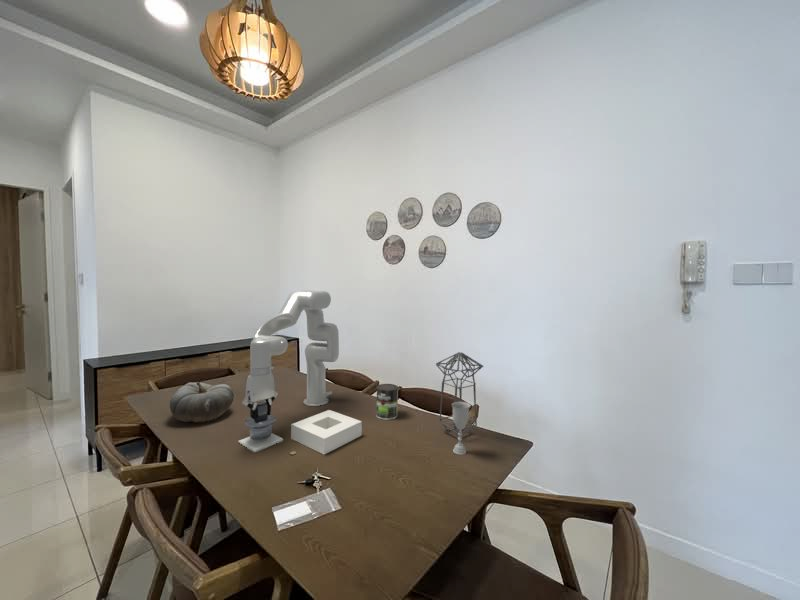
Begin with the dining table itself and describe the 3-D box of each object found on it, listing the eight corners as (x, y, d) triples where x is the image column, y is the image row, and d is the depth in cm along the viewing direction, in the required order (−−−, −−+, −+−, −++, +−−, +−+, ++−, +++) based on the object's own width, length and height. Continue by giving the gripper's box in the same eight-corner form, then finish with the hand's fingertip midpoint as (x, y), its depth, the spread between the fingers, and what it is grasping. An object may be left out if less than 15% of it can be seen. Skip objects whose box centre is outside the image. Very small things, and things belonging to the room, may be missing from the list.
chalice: (457, 457, 124) (458, 409, 123) (446, 449, 130) (447, 403, 129) (472, 453, 127) (474, 406, 126) (461, 445, 133) (463, 400, 132)
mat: (266, 432, 141) (266, 430, 141) (283, 440, 134) (283, 438, 134) (238, 442, 131) (238, 440, 131) (254, 452, 124) (254, 450, 124)
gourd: (177, 404, 163) (182, 370, 162) (233, 406, 172) (238, 374, 171) (160, 430, 140) (166, 391, 139) (225, 432, 149) (232, 395, 147)
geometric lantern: (457, 444, 133) (460, 358, 132) (431, 430, 146) (433, 351, 144) (483, 434, 143) (486, 353, 141) (457, 422, 155) (459, 347, 153)
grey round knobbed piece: (265, 427, 140) (265, 397, 140) (281, 434, 134) (281, 403, 133) (240, 436, 131) (239, 404, 131) (255, 444, 125) (255, 411, 124)
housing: (329, 422, 152) (329, 409, 151) (361, 435, 140) (361, 421, 139) (291, 438, 136) (291, 424, 135) (324, 454, 124) (324, 438, 123)
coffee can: (392, 421, 154) (393, 391, 154) (372, 417, 158) (372, 388, 158) (400, 413, 164) (401, 385, 163) (381, 410, 168) (382, 382, 167)
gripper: (274, 365, 140) (274, 408, 141) (234, 373, 127) (234, 420, 127) (285, 368, 136) (285, 412, 137) (244, 377, 122) (244, 426, 123)
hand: (260, 416), depth 132 cm, fingers closed on grey round knobbed piece, 5 cm apart
